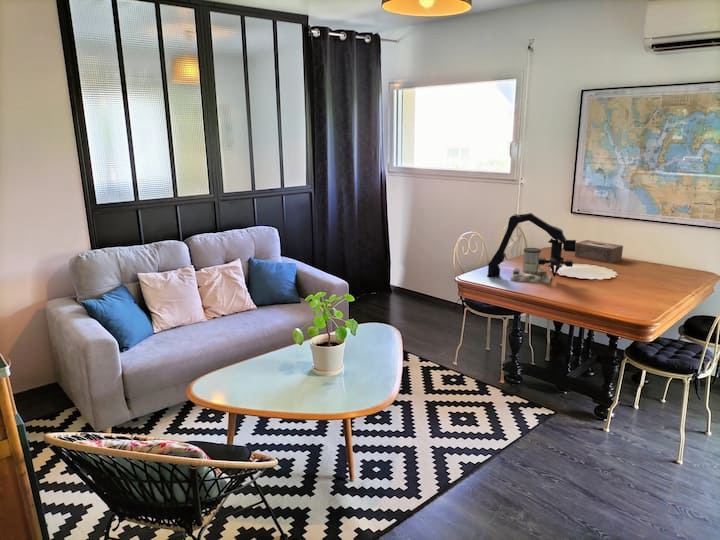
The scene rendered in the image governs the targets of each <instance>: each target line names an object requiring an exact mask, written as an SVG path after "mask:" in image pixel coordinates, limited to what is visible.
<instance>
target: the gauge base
mask: <svg viewBox="0 0 720 540" xmlns="http://www.w3.org/2000/svg"><path fill="white" fill-rule="evenodd" d="M551 277H552V276H551V275H547V274H546V277H542V279H541V276H537V275H534V274H532V273H524V272H522V273H520V268H516V267H515V268H514V269H513V272H512V274H511V277H510V281H517V282H526V283H527V282H530V283H540V284H541V283H543V284H551V279H552V278H551Z"/></svg>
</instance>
